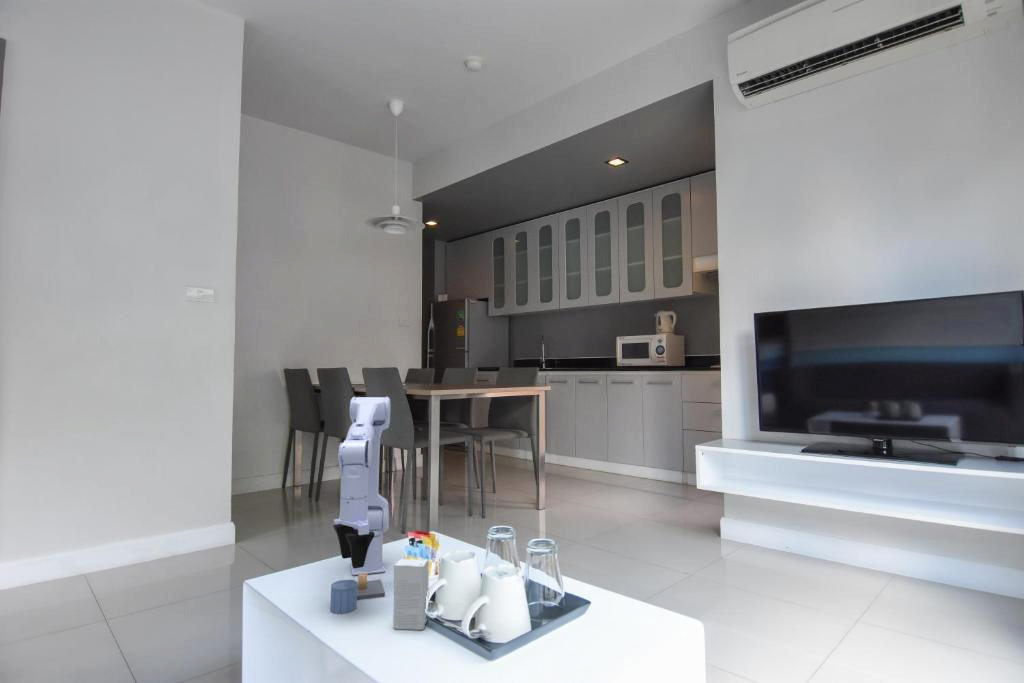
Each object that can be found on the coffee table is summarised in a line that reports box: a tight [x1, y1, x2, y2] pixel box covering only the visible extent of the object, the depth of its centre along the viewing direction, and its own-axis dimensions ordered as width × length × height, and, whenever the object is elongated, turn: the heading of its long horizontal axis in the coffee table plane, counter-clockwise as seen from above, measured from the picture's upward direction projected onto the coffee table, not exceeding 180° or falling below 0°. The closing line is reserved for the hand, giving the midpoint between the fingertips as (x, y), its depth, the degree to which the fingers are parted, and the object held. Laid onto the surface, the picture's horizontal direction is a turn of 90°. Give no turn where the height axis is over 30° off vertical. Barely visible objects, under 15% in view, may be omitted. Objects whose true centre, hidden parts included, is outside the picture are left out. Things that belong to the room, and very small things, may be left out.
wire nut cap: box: [329, 579, 358, 615], centre depth 115 cm, size 5×5×5 cm
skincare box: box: [392, 558, 430, 631], centre depth 107 cm, size 6×4×12 cm
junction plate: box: [356, 573, 386, 601], centre depth 124 cm, size 9×9×4 cm
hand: (352, 562), depth 115 cm, fingers open, 7 cm apart
